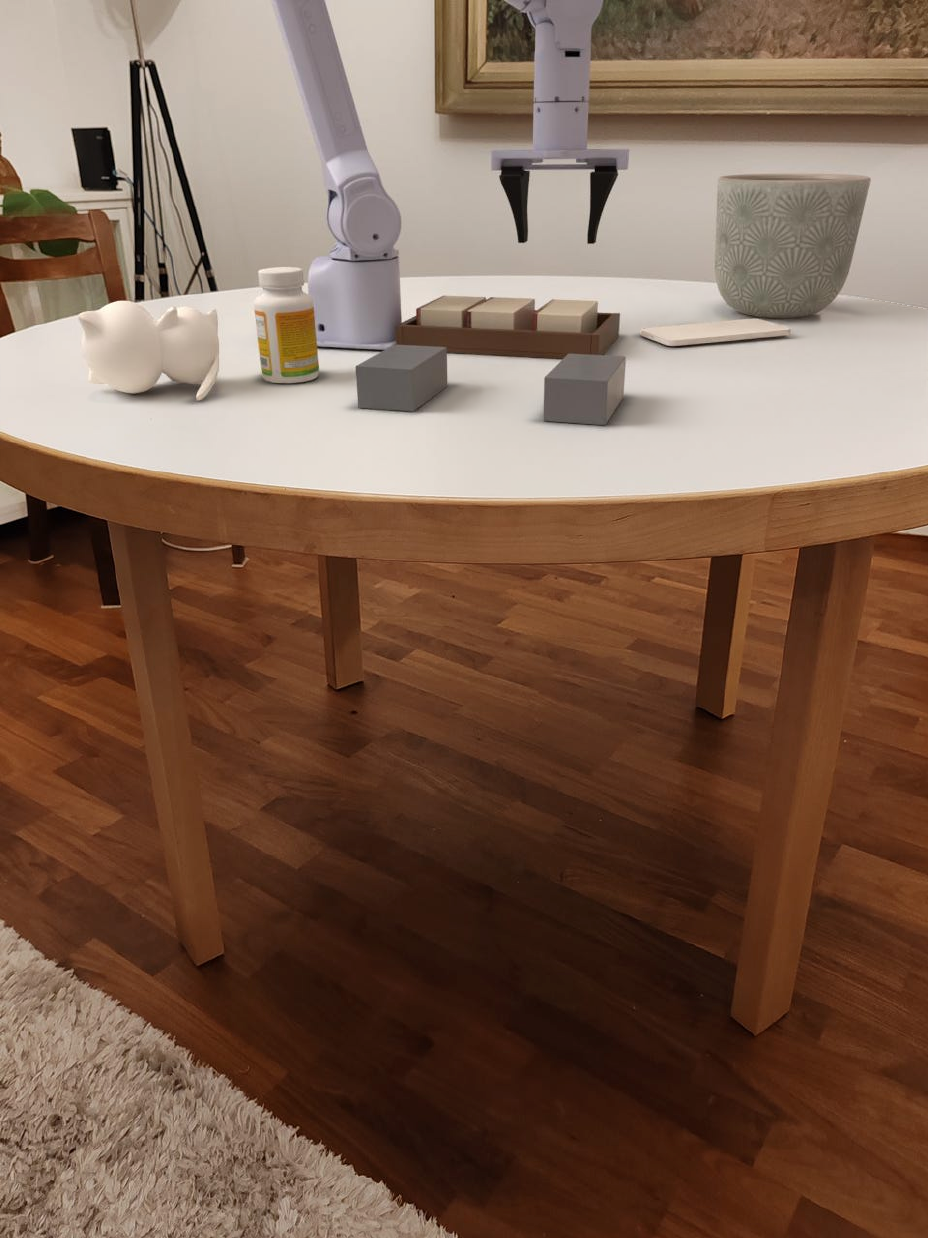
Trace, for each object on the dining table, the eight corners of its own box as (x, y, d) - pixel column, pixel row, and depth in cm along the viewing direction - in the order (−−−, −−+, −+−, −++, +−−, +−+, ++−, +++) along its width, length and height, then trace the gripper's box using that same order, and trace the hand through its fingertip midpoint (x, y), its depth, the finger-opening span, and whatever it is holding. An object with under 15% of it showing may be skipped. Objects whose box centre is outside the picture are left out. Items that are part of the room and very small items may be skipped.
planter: (735, 297, 128) (749, 172, 121) (865, 308, 119) (888, 174, 112) (682, 316, 116) (694, 178, 108) (822, 330, 107) (845, 181, 100)
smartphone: (638, 328, 105) (756, 317, 109) (637, 335, 106) (755, 324, 109) (670, 340, 99) (794, 328, 103) (669, 348, 99) (793, 336, 103)
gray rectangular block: (357, 407, 80) (355, 365, 78) (396, 382, 88) (394, 344, 86) (413, 411, 79) (411, 369, 77) (447, 386, 86) (446, 346, 85)
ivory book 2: (466, 344, 100) (466, 310, 98) (490, 329, 108) (490, 296, 106) (513, 347, 99) (513, 312, 97) (534, 331, 106) (535, 298, 104)
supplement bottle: (329, 372, 91) (321, 266, 87) (303, 386, 87) (293, 274, 82) (279, 369, 93) (269, 264, 89) (251, 382, 89) (238, 272, 84)
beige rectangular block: (531, 348, 98) (532, 313, 96) (551, 331, 106) (552, 299, 104) (580, 350, 97) (581, 315, 95) (596, 333, 104) (598, 300, 103)
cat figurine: (213, 274, 85) (70, 278, 81) (234, 359, 80) (83, 367, 76) (214, 348, 92) (83, 355, 88) (234, 430, 87) (95, 441, 83)
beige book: (416, 342, 101) (415, 308, 100) (443, 327, 109) (443, 295, 107) (462, 344, 100) (461, 310, 98) (486, 328, 108) (486, 296, 106)
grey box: (543, 421, 76) (544, 376, 74) (566, 393, 83) (568, 353, 82) (605, 425, 74) (607, 380, 73) (623, 397, 82) (626, 356, 80)
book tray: (396, 349, 101) (395, 325, 99) (435, 327, 111) (434, 305, 110) (598, 360, 95) (599, 334, 94) (618, 336, 105) (620, 313, 104)
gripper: (484, 103, 97) (485, 245, 103) (627, 100, 94) (619, 247, 100) (498, 104, 103) (498, 238, 109) (633, 101, 100) (625, 239, 106)
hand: (556, 242), depth 105 cm, fingers open, 7 cm apart
